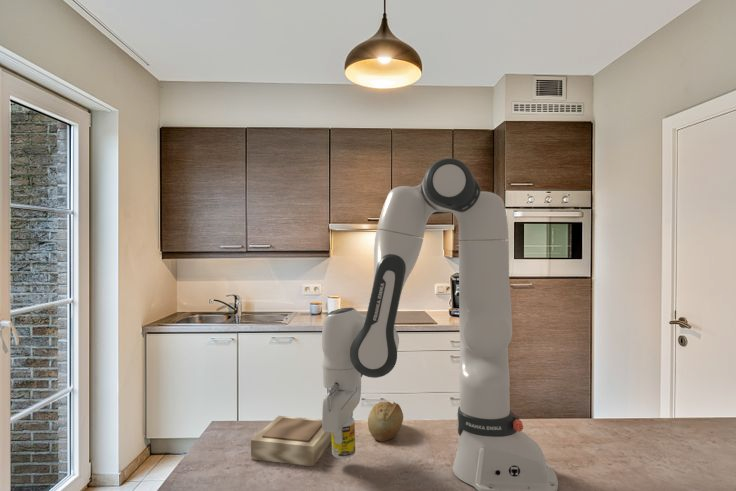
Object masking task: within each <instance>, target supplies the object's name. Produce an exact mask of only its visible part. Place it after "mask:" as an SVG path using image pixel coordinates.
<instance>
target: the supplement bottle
mask: <svg viewBox="0 0 736 491" xmlns="http://www.w3.org/2000/svg"><path fill="white" fill-rule="evenodd" d="M355 424H356V423H355V418H354V417H351V411H350V415H349V418H348V419H347V421H346V422H345V423H344V425H343V428H342V434H344V440H343V442H342V443H341V444H336V443H335V442H334V434H333V433H331V438H332V441H331V454H332V456H333V457H335V458H336V459H342V460H343V459H349V458H351V457H353V456H354V455H355V453H356V430H355V429H356V426H355Z"/></svg>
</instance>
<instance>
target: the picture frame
mask: <svg viewBox="0 0 736 491" xmlns="http://www.w3.org/2000/svg"><path fill="white" fill-rule="evenodd" d="M330 444H332V438H331V432H324V430H323V428H322V419H317V418H307V417H298V416H285V415H278V416H277V417H275V418H274V419H273V420H272V421H271V422H270V423H268V424H267V425H266V426H265V427H264V428H263V429H262V430H261V431H260V432H258V433H257V434H256V435H255V436H254V437H252V439H250V460H256V461H257V460H258V461H265V462H266V461H267V462H275V463H282V464H292V465H301V466H305V467H306V466H308V467H314V466H315V465H316V463H317V462H318V461H319V460H320V458H321V457H322V455H323V454H324V452H325V451H326V450H327V448H328V447H329V446H330Z"/></svg>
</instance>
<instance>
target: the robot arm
mask: <svg viewBox="0 0 736 491" xmlns="http://www.w3.org/2000/svg"><path fill="white" fill-rule="evenodd" d="M506 212H507V211H506V207H505V203H504V200H503V198H502V197H501V196H500V195H498V194H496V193H494V192H491V191H482V188H481V186H480V185H479V183H478V181H477V180H476V178H475V176H474V174H473V173H472V171H471V170H470V168H469V167H468V165H466V164H465V163H464V162H463V161H461V160H459V159H457V158H452V157H450V158H449V157H448V158H447V157H446V158H442V159H439V160H437V161H434V162H433V163H432V164H431V165H430V166H429V167H428V168H427V170H426V171H425V173H424V175H423V179H422V181H421V183H420V184H418V185H416V186H410V185H401V186H395V187H394V188H392V189H390V191H389V192H388V194H387V196H386V199H385V201H384V203H383V206H382V209H381V212H380V215H379V220H378V222H377V226H376V231H375V238H374V247H373V284H372V289H371V294H370V298H369V303H368V306H367V307H368V308H367V312H366V315H365V314H363V313H361V312H359V310H357V309H356V308H354V307H342V308H337V309H335V310H332V311H330V312H328V313H327V314H326V315H325V316H324V318H323V321H322V328H321V329H322V330H321V331H322V333H321V348H322V349H321V350H322V352H323V360H322V385H323V387H324V388H326V389H327V391H328V392H327V393H326V394H325V395H324V397H323V401H322V408H321V409H322V410H321V411H322V412H321V420H322V428H323V430H324V432H331V433H333V434H334V442H335V443H336V444H341V443H342V442H343V440H344V434H342V428H343V425H344V423H345V422H346V421H347V419H348V418H349V415H350V411H351V417H353V416H354V415H353V414H354V411H355V409H356V408H357V407H358V406H359V404H360V401H361V397H362V396H361V393H362V378H363V376H365V377H367V378H373V379H376V378H381V377H384V376H386V375H388V374H389V373H390V372H391V371H392V370H393V369H394V368H395V365H397V364H396V363H397V359H398V349H399V343H400V342H399V341H400V338H399V334H398V331H397V330H396V328H395V325H396V320H397V314H398V310H399V305H400V300H401V296H402V293H403V289H404V287H405V285H406V282H407V281H408V278H409V277H410V275H411V273H412V271H413V270H414V267H415V266H416V263H417V261H418V259H419V256H420V253H421V250H422V246H423V242H424V238H425V234H426V233H425V231H426V228H427V223H428V221H429V218H430V217H431V216H432V215H439V214H448V213H452V214H453V215H454V216H455V218H456V220H457V225H458V226H457V227H458V281H459V282H458V285H459V286H458V288H459V289H458V292H459V294H458V296H459V297H458V299H459V300H458V303H459V304H458V305H459V310H458V311H459V316H458V317H459V319H458V320H459V324H458V325H459V406H458V409H457V414H456V416H457V417H456V418H457V419H456V420H457V421H456V423H457V424H456V425H457V434H458V437H457V438H458V441H457V448H456V453H455V459H454V461H453V464H452V472H453V474H454V475H455V476H456V478H458V479H459V480H460V481H462V482H463V483H465V484H467V485H470V486H472V487H473V488H475V489H476V490H477V491H558V490H559V481H558V476H557V474H556V471H554V469H553V467H552V466H551V465H549V464H548V463H547V461H546V457H545V454H544V451H543V450H542V448H541V446H540V445H539V444H538V443H537V441H535V440H534V439H532V437H530V436H528V435H527V434H526V433H525V432H523V430H524V425H523V421H522V420H520V417H519V415H517V413H516V410H514V411H512V410H510V409H511V406H510V405H511V401H510V400H511V399H510V394H511V392H510V390H511V389H510V386H511V380H510V379H511V378H510V366H509V362H510V361H509V348H508V347H509V345H510V342H511V341H512V337H513V318H512V317H513V316H512V313H513V312H512V296H511V284H510V283H511V282H510V260H509V259H510V252H509V251H510V248H509V242H510V241H509V227H508V226H509V225H508V224H509V223H508V216H507V213H506ZM353 418H354V417H353Z"/></svg>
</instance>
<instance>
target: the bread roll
mask: <svg viewBox="0 0 736 491" xmlns="http://www.w3.org/2000/svg"><path fill="white" fill-rule="evenodd" d="M403 421H404V413H403V410H402V408H401V406H400V404H399V403H396V402H395V401H393V403H392V402H390V401H382V402H381V401H380V402H378V403H376V404H375V405H374V406H373V407H372V408H371V410H370V411H369V414H368V417H367V426H368V431H369V432H370V435H371V436H372V438H373V439H375V440H376V441H378V442H385V441H386V442H387V441H389V440H391V439H392V438H395V436H396V435H397V433H398V432H399V430H400V428H401V426H402V424H403Z"/></svg>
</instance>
